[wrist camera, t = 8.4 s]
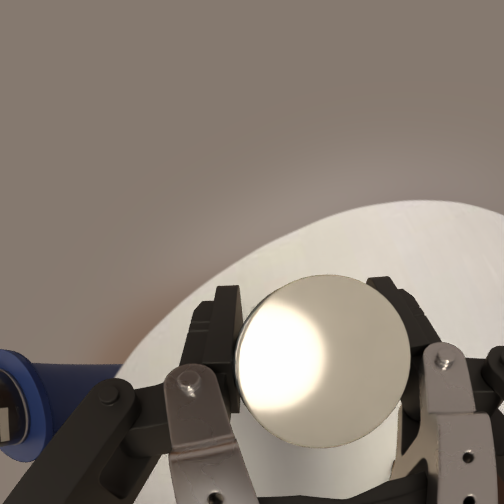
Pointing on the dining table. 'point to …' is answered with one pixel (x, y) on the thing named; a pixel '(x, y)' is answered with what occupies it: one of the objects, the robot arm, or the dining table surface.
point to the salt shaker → (322, 361)
